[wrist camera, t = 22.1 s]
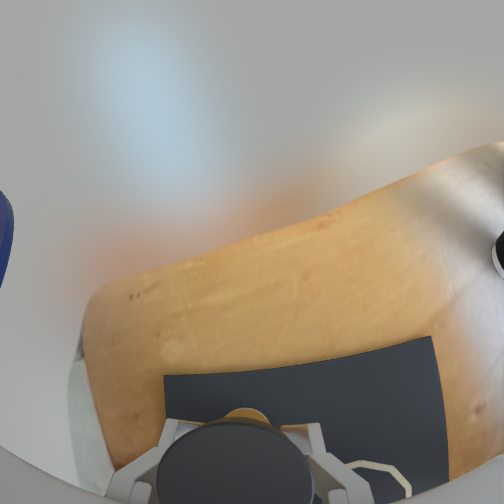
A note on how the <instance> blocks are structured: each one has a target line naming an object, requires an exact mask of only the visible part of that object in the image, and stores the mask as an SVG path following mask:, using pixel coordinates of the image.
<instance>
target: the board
mask: <svg viewBox="0 0 504 504" xmlns="http://www.w3.org/2000/svg"><path fill="white" fill-rule="evenodd" d="M164 388H165V404H166V417H167V419H168V418H170V419H177V420H185V421H192V422H200V423H205V424H206V423H208V422H210V421H213V420H216V419H220V418H223V417H225V416H226V415H227V414H228V413H230V412H231V411H233V410H236V409H239V408H252V409H255V410H257V411H259V412H261V413H262V414H263V415H264V416H265V417H266V418H267V419H268V421H269V423H270V424H271V425H272V426H273V427H275V428H277V429H278V430H279V431H280V427H281V425H288V424H304V423H305V424H308V423H319V424H320V427H321V431H322V436H323V440H324V444H325V449H326V453H331V454H332V455H334V456H335V457H336V458H337V459H339V460H340V461H341V462H342V463H344V464H345V465H346V466H347V467H349V468H350V469H351V470H352V471H354V472H355V473H356V474H358V475H359V476H360V477H362V478H363V479H364V480H366V481H367V482H368V483H369V486H370V489H371V492H372V496H373V499H374V503H375V504H389V503H393V502H396V501H399V500H402V499H405V498H408V497H411V496H414V495H417V494H420V493H422V492H425V491H428V490H430V489H433V488H435V487H438V486H440V485H442V484H445V483H447V482H449V460H448V441H447V428H446V418H445V410H444V402H443V395H442V388H441V382H440V376H439V371H438V366H437V361H436V356H435V351H434V347H433V342H432V338H431V336H427V337H424V338H420V339H417V340H413V341H410V342H406V343H402V344H399V345H395V346H391V347H387V348H383V349H379V350H375V351H370V352H366V353H361V354H357V355H352V356H347V357H342V358H337V359H331V360H326V361H320V362H314V363H308V364H301V365H295V366H287V367H280V368H272V369H263V370H253V371H242V372H230V373H215V374H194V375H164ZM322 502H323V501H322V500H321V498H320V497H319V496H318V495H317V494H316V493H314V499H313V502H312V504H322Z"/></svg>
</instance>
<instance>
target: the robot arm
mask: <svg viewBox="0 0 504 504" xmlns="http://www.w3.org/2000/svg"><path fill="white" fill-rule="evenodd" d="M204 424H205V423H200V422H192V421H185V420H177V419H170V418H168V419H167V420H166V422H165V425H164V428H163V431H162V434H161V437H160V440H159V443H158V446H157V447H153V448H151V449H150V450H148V451H147V452H146V453H144V454H143V455H141V456H140V457H138V458H137V459H135V460H134V461H132V462H131V463H129V464H128V465H126V466H125V467H123V468H122V469H120V470H119V471H117V472H115V473H114V474H113V477H112V479H111V481H110V484H109V486H108V489H107V492H106V494H105V497H103V496H100V495H97V494H95V493H92V492H89V491H87V490H84V489H82V488H79V487H77V486H74V485H72V484H70V483H67V482H65V481H63V480H60V479H59V478H56V477H54V476H52V475H50V474H48V473H46V472H44V471H42V470H40V469H39V468H37V467H35V466H33V465H31V464H29V463H28V462H26V461H24V460H22V459H21V458H19V457H17V456H16V455H14V454H12V453H11V452H9V451H8V450H6V449H5V448H3V447H2V446H0V504H161V503H160V500H159V498H158V494H157V490H156V473H157V468H158V465H159V462H160V460H161V458H162V456H163V454H164V453H165V451H166V450H167V449H168V448H169V446H170V445H171V444H172V443H173V442H174V441H176V440H177V439H178V438H179V437H181V436H182V435H184V434H185V433H187V432H189V431H191V430H193V429H195V428H197V427H199V426H202V425H204ZM280 431H281V432H282V433H283V434H284V435H285V436H286V437H287V438H289V439H290V440H291V441H292V442H293V443H294V444H295V445H296V446H297V447H298V448H299V449H300V450H301V452H302V453H303V454H304V455H305V457H306V458H307V460H308V462H309V464H310V466H311V469H312V471H313V475H314V480H315V493H316V494H317V495H318V496H319V497H320V498H321V500H322V501H323V502H322V504H375V503H374V499H373V496H372V492H371V489H370V486H369V483H368V482H367V481H366V480H364V479H363V478H362V477H360V476H359V475H358V474H356V473H355V472H354V471H352V470H351V469H350V468H349V467H347V466H346V465H345V464H344V463H342V462H341V461H340V460H339V459H337V458H336V457H335V456H334V455H332V454H331V453H326V449H325V444H324V440H323V436H322V431H321V427H320V424H319V423H308V424H305V423H304V424H288V425H281V427H280ZM389 504H504V454H500V455H498V456H496V457H495V458H493V459H491V460H490V461H488V462H486V463H484V464H483V465H481V466H479V467H477V468H475V469H474V470H472V471H470V472H468V473H466V474H464V475H462V476H460V477H458V478H456V479H453V480H451V481H449V482H447V483H445V484H442V485H440V486H438V487H435V488H433V489H430V490H428V491H425V492H422V493H420V494H417V495H414V496H411V497H408V498H405V499H402V500H399V501H396V502H393V503H389Z"/></svg>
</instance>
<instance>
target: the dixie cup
mask: <svg viewBox="0 0 504 504" xmlns="http://www.w3.org/2000/svg"><path fill="white" fill-rule="evenodd" d="M492 260H493V263H494V266H495V268H496V270H497V272H498V273H499V275H500V276H501V277H502V278H503V279H504V231H503V232H502V234H501V235H500V236H499V238H498V239H497V241H496V244H495V245H494V247H493V248H492Z"/></svg>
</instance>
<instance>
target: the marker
mask: <svg viewBox="0 0 504 504" xmlns="http://www.w3.org/2000/svg"><path fill="white" fill-rule="evenodd" d="M156 490H157V494H158V498H159V500H160V503H161V504H312V502H313V499H314V493H315V480H314V475H313V471H312V469H311V466H310V464H309V462H308V460H307V458H306V457H305V455H304V454H303V453H302V452H301V450H300V449H299V448H298V447H297V446H296V445H295V444H294V443H293V442H292V441H291V440H290V439H289V438H287V437H286V436H285V435H284V434H283V433H282V432H281V431H279V430H278V429H277V428H275V427H273V426H272V425H271V424H270V423H269V421H268V419H267V418H266V417H265V416H264V415H263V414H262V413H261V412H259V411H257V410H255V409H252V408H239V409H236V410H233V411H231V412H230V413H228V414H227V415H226V416H225V417H223V418H220V419H216V420H213V421H210V422H208V423H206V424H204V425H202V426H199V427H197V428H195V429H193V430H191V431H189V432H187V433H185V434H184V435H182V436H181V437H179V438H178V439H177V440H176V441H174V442H173V443H172V444H171V445H170V446H169V448H168V449H167V450H166V451H165V453H164V454H163V456H162V458H161V460H160V462H159V465H158V468H157V473H156Z"/></svg>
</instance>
